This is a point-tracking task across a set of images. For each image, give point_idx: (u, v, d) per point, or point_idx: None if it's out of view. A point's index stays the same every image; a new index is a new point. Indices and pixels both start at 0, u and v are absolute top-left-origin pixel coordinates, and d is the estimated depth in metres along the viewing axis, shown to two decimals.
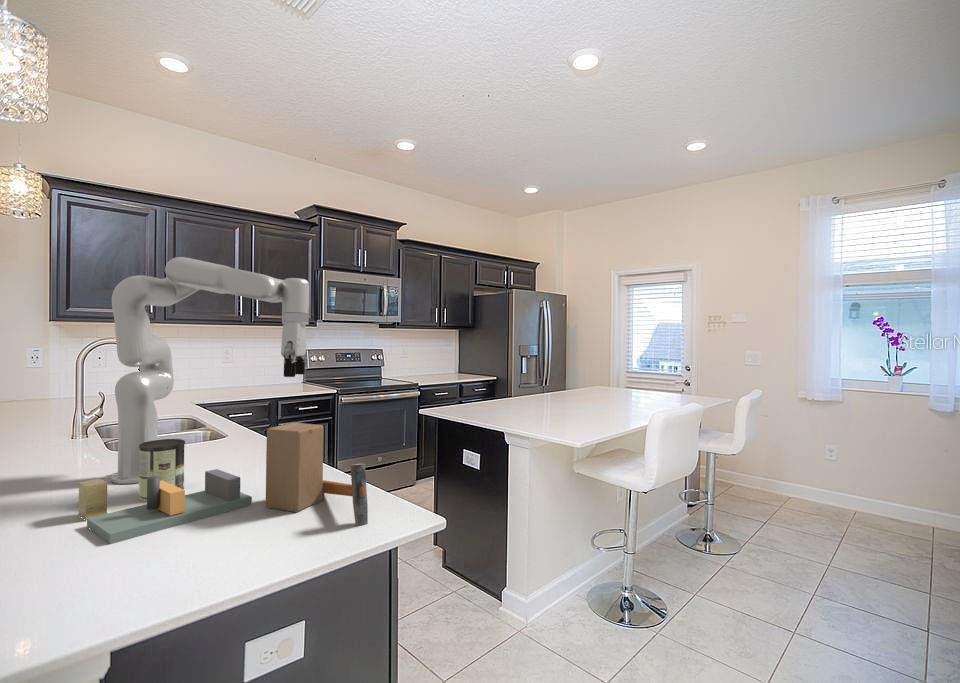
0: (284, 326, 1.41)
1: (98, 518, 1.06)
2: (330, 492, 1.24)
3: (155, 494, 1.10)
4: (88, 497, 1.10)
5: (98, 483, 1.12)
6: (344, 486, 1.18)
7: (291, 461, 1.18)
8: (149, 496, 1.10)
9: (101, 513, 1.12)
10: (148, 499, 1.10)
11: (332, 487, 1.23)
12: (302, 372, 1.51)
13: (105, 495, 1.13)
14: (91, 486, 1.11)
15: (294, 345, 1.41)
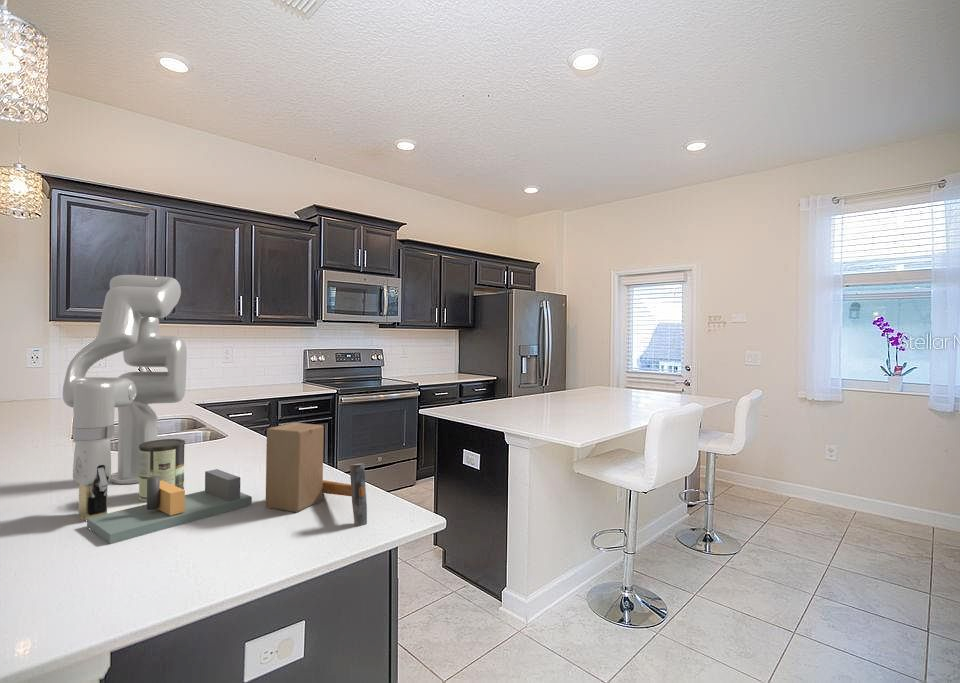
0: (90, 447, 1.09)
1: (98, 518, 1.06)
2: (330, 492, 1.24)
3: (155, 494, 1.10)
4: (88, 497, 1.10)
5: None
6: (343, 486, 1.18)
7: (291, 461, 1.18)
8: (149, 496, 1.10)
9: (101, 513, 1.12)
10: (148, 499, 1.10)
11: (332, 487, 1.23)
12: None
13: None
14: None
15: (107, 469, 1.11)
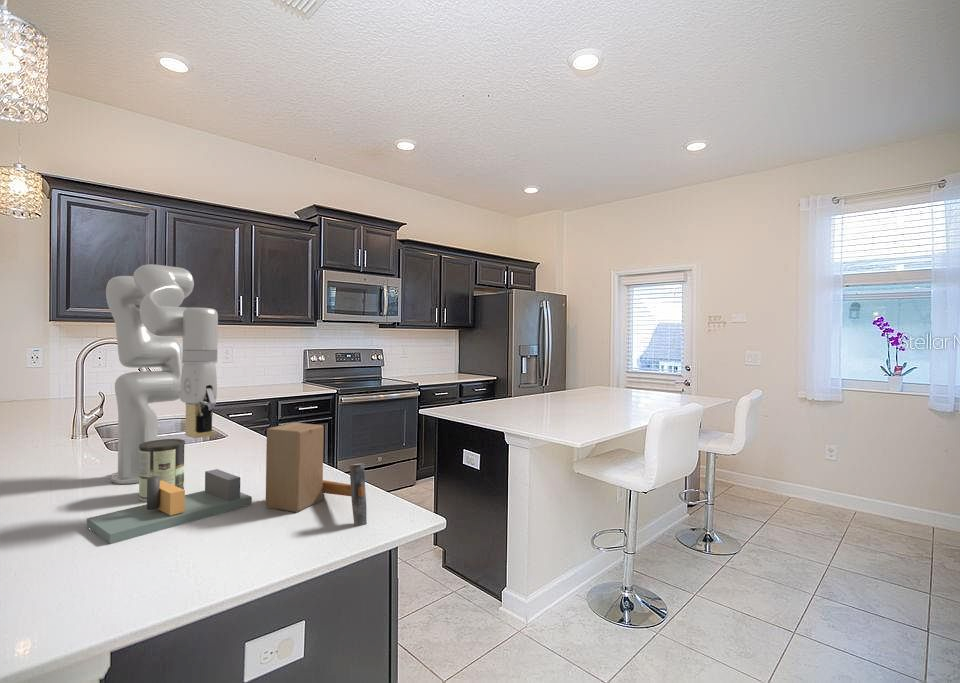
0: (200, 367, 1.15)
1: (98, 518, 1.06)
2: (330, 492, 1.24)
3: (155, 494, 1.10)
4: (196, 416, 1.17)
5: None
6: (343, 486, 1.18)
7: (291, 461, 1.18)
8: (149, 496, 1.10)
9: (207, 432, 1.19)
10: (148, 499, 1.10)
11: (332, 487, 1.23)
12: None
13: None
14: None
15: (214, 390, 1.17)
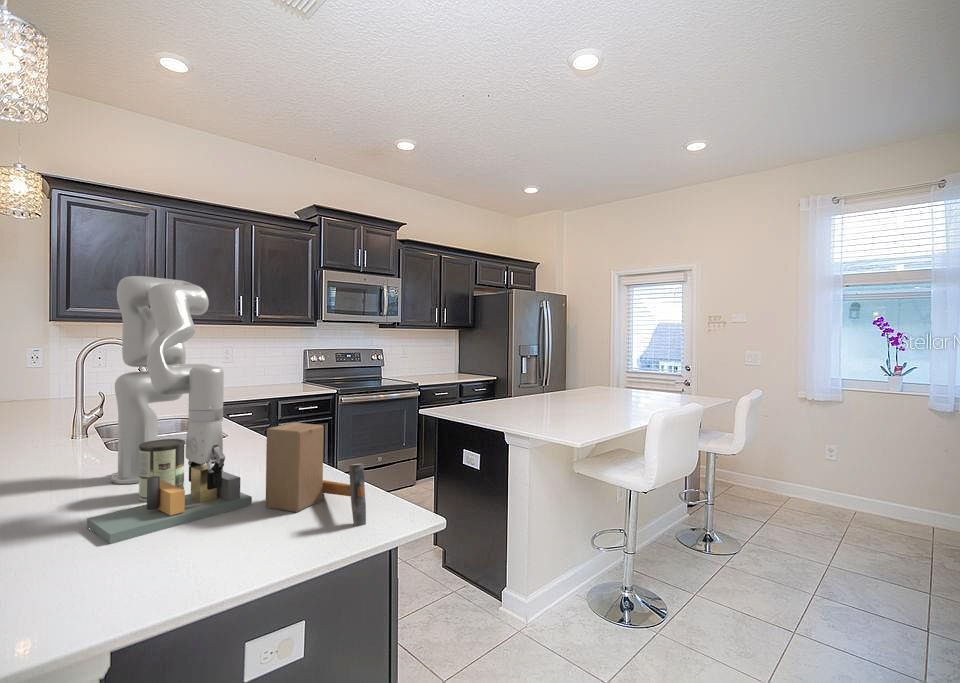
0: (206, 428, 1.16)
1: (98, 518, 1.06)
2: (329, 492, 1.24)
3: (155, 494, 1.10)
4: (202, 481, 1.17)
5: None
6: (343, 486, 1.18)
7: (291, 461, 1.18)
8: (149, 496, 1.10)
9: (212, 496, 1.19)
10: (148, 499, 1.10)
11: (331, 487, 1.23)
12: None
13: None
14: (204, 470, 1.18)
15: (220, 449, 1.18)
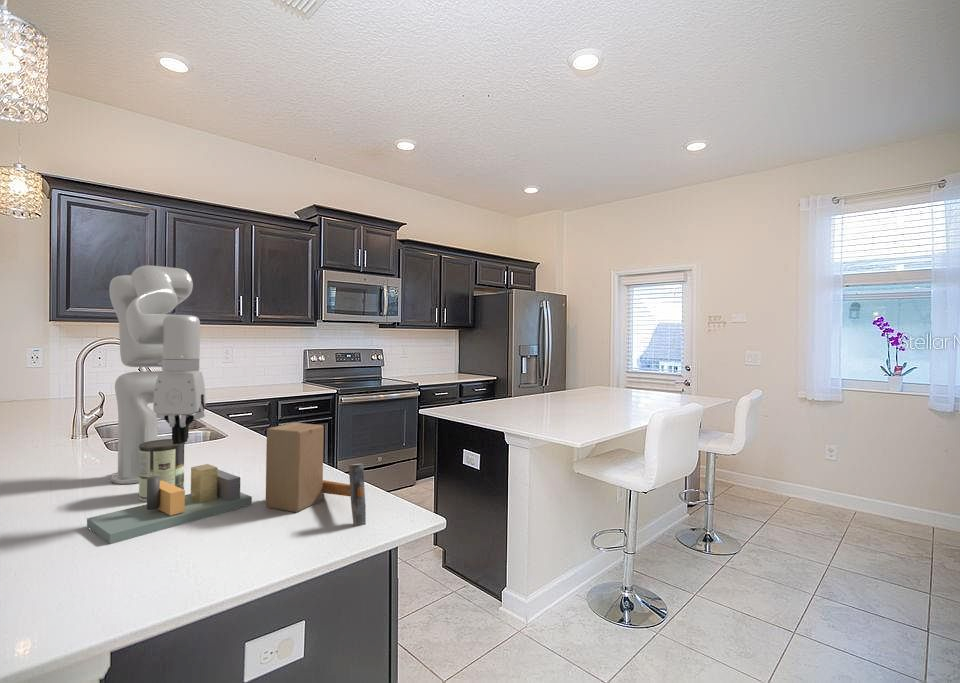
0: (195, 377, 1.13)
1: (98, 518, 1.06)
2: (329, 492, 1.24)
3: (155, 494, 1.10)
4: (202, 481, 1.17)
5: (209, 468, 1.19)
6: (343, 486, 1.18)
7: (291, 461, 1.18)
8: (149, 496, 1.10)
9: (212, 496, 1.19)
10: (148, 499, 1.10)
11: (331, 487, 1.23)
12: None
13: (215, 479, 1.20)
14: (204, 470, 1.18)
15: (204, 398, 1.17)
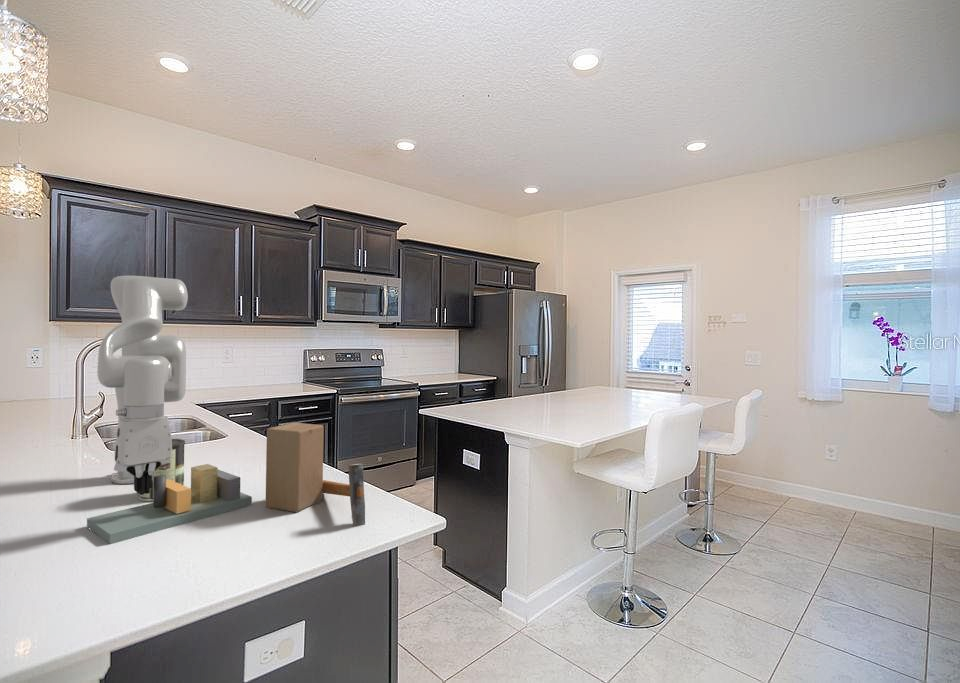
0: (168, 421, 1.11)
1: (98, 518, 1.06)
2: (329, 492, 1.24)
3: (162, 493, 1.11)
4: (202, 481, 1.17)
5: (209, 468, 1.19)
6: (342, 486, 1.17)
7: (291, 461, 1.18)
8: (156, 494, 1.11)
9: (212, 496, 1.19)
10: (154, 497, 1.11)
11: (331, 487, 1.23)
12: None
13: (215, 479, 1.20)
14: (204, 470, 1.18)
15: None
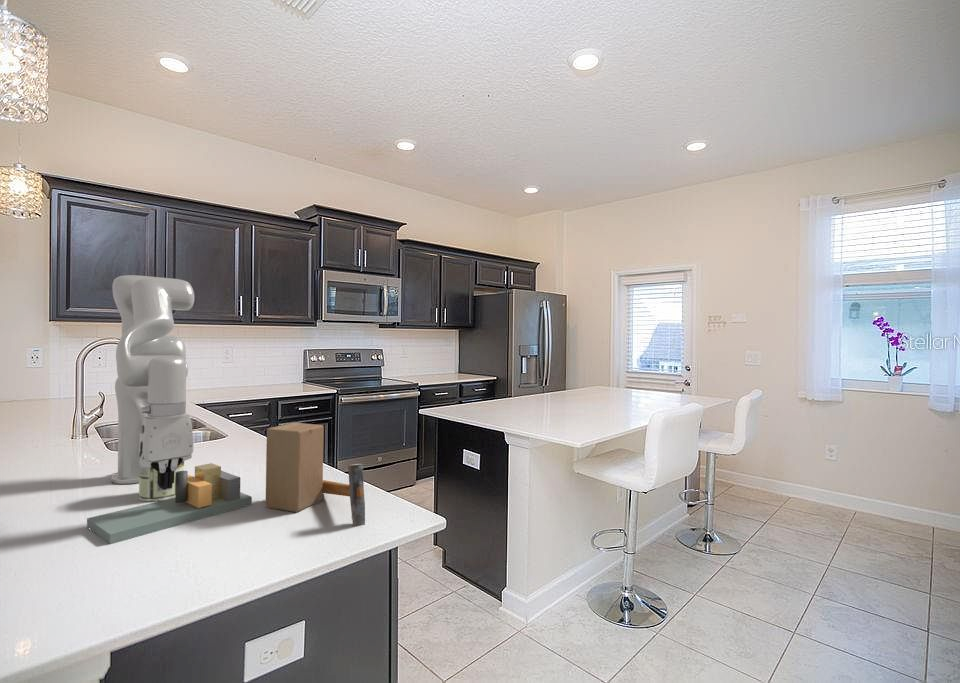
0: None
1: (98, 518, 1.06)
2: (329, 492, 1.24)
3: (183, 488, 1.15)
4: (206, 480, 1.18)
5: (213, 467, 1.20)
6: (342, 486, 1.17)
7: (291, 461, 1.18)
8: (178, 489, 1.14)
9: (216, 495, 1.20)
10: (176, 492, 1.14)
11: (331, 487, 1.23)
12: None
13: (219, 478, 1.21)
14: (208, 470, 1.19)
15: None
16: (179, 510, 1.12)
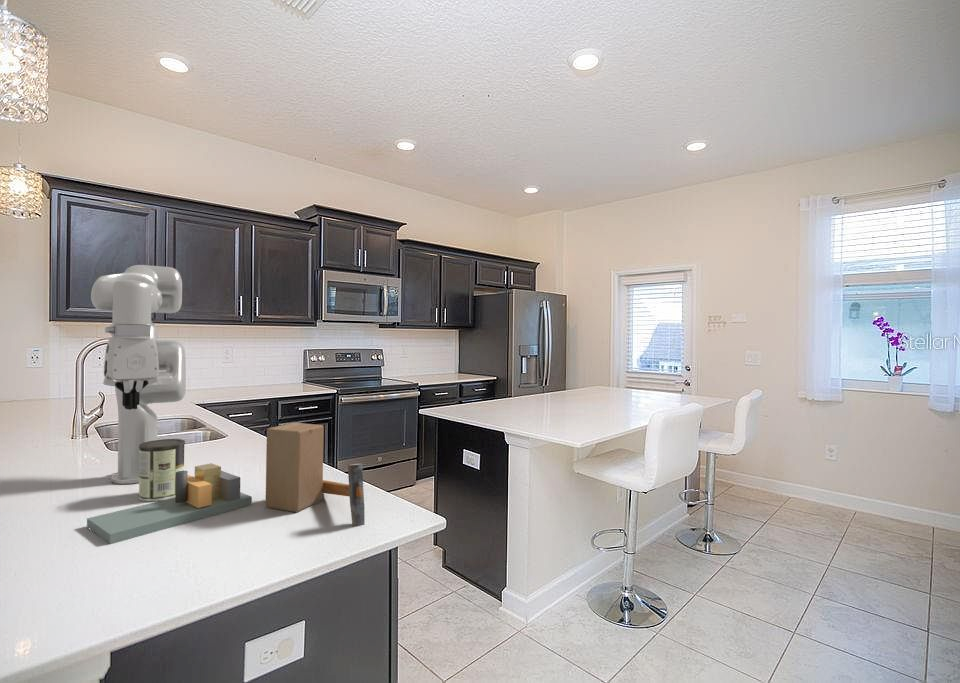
0: (155, 342, 1.18)
1: (98, 518, 1.06)
2: (329, 492, 1.24)
3: (183, 488, 1.15)
4: (206, 480, 1.18)
5: (213, 467, 1.20)
6: (342, 486, 1.17)
7: (291, 461, 1.18)
8: (178, 489, 1.14)
9: (216, 495, 1.20)
10: (176, 492, 1.14)
11: (331, 487, 1.23)
12: None
13: (219, 478, 1.21)
14: (208, 470, 1.19)
15: None
16: (179, 510, 1.12)
